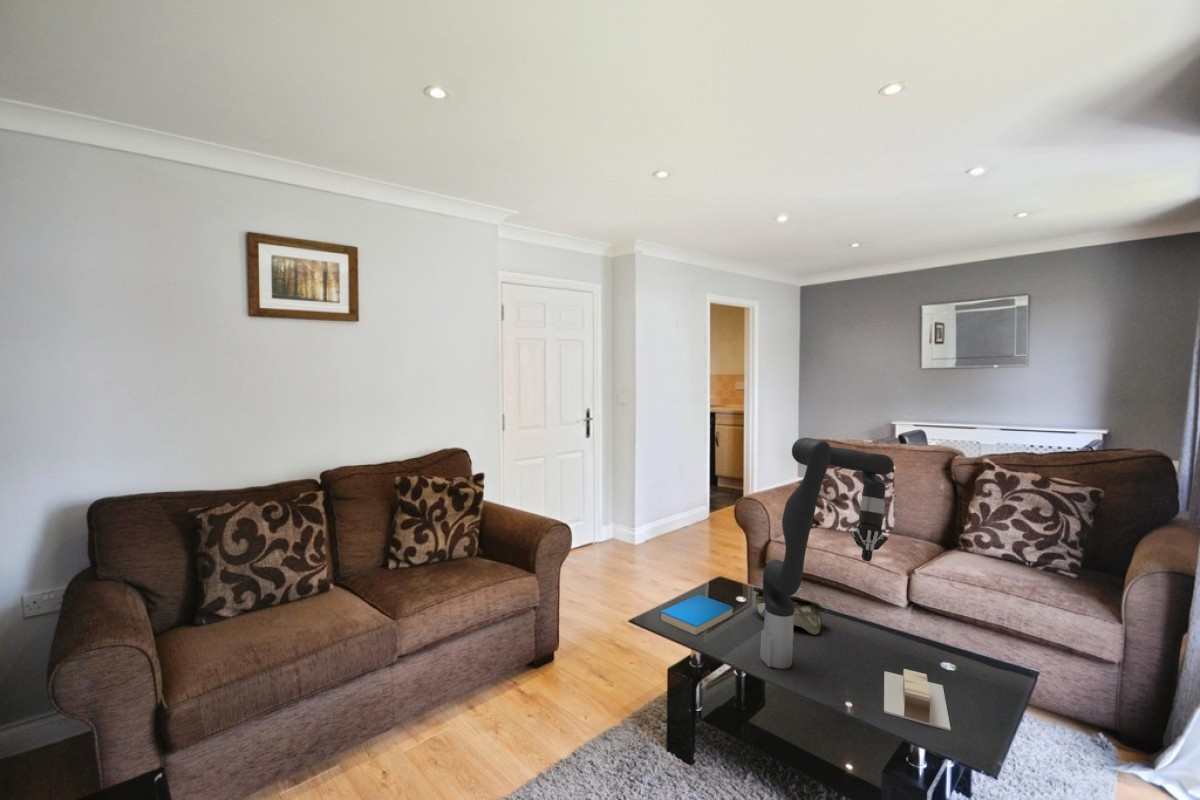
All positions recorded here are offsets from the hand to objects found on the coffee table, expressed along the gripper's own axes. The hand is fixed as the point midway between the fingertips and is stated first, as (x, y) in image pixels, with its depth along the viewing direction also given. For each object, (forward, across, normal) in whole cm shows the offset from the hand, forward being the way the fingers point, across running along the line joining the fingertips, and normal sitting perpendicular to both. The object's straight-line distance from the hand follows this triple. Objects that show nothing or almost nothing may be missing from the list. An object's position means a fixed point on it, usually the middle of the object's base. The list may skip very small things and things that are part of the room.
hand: (866, 560), depth 191 cm
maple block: (+31, +6, -21) cm, 38 cm away
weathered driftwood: (+30, -13, +26) cm, 42 cm away
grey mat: (+35, +5, -24) cm, 43 cm away
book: (+35, -47, +31) cm, 66 cm away
